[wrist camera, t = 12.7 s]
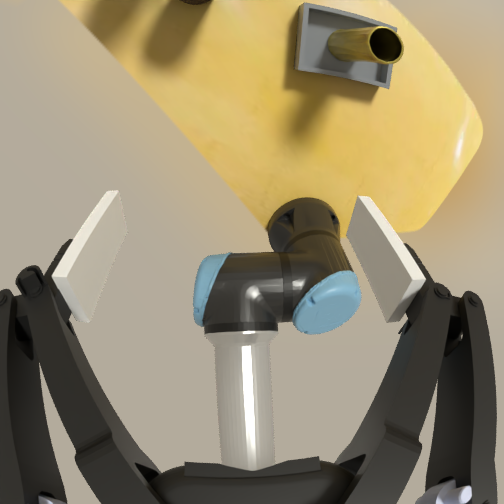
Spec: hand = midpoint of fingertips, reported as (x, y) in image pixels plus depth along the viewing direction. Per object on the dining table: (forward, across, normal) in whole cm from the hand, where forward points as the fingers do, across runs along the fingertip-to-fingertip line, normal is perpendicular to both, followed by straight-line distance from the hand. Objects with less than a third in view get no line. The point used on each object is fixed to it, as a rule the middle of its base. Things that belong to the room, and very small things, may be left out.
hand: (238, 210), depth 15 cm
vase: (+34, -17, -13) cm, 40 cm away
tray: (+35, -17, -13) cm, 41 cm away
